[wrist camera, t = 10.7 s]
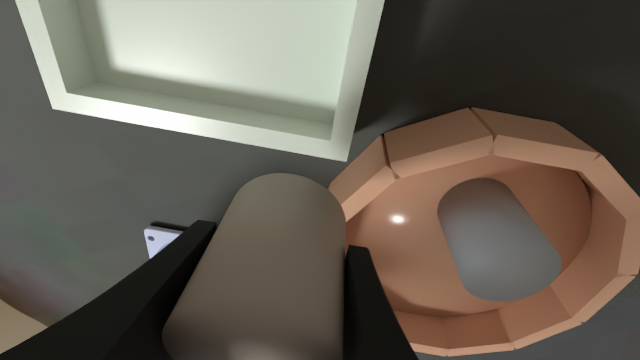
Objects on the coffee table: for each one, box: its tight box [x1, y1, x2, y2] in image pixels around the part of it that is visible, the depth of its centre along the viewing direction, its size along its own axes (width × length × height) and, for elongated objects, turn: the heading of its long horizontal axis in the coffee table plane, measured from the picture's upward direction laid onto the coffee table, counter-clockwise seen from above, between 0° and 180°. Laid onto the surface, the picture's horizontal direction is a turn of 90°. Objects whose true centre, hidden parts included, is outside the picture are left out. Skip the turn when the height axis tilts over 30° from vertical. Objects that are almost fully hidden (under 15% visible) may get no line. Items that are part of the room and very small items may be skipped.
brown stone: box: [162, 173, 346, 360], centre depth 10 cm, size 4×4×5 cm
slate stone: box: [437, 178, 562, 302], centre depth 17 cm, size 4×4×5 cm
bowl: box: [328, 107, 640, 356], centre depth 20 cm, size 18×18×4 cm
